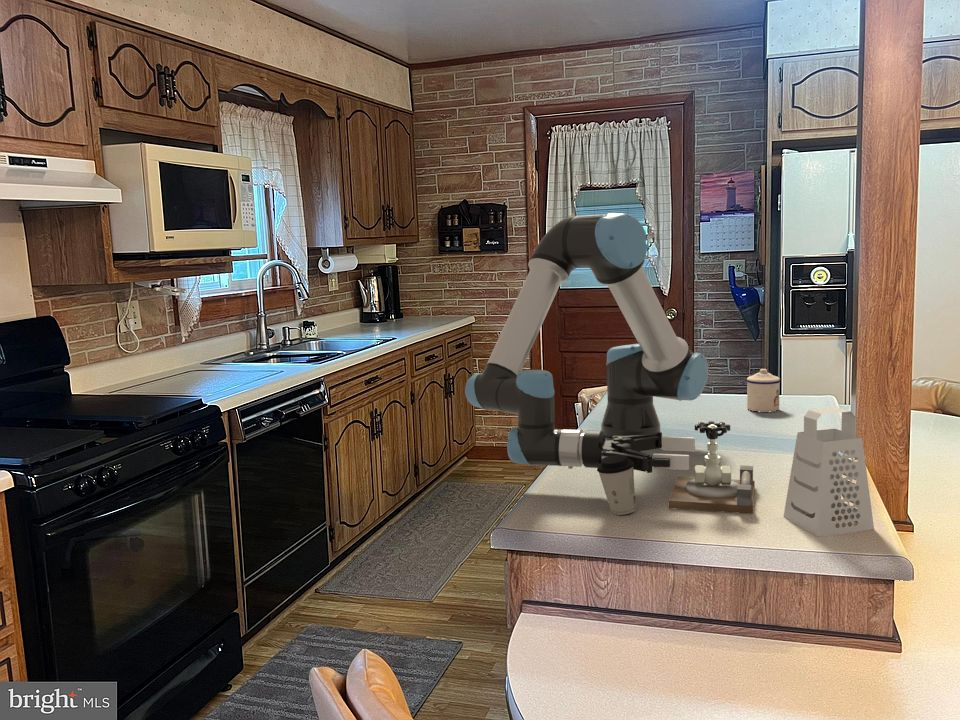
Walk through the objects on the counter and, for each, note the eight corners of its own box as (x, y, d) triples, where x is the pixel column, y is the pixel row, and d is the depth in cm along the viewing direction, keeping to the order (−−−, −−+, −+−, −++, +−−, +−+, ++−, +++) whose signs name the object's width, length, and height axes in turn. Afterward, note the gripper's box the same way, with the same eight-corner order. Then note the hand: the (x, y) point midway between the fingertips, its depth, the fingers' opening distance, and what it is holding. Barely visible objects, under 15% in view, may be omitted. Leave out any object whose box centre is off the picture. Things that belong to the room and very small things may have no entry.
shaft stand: (677, 483, 170) (677, 462, 170) (754, 487, 165) (754, 466, 164) (668, 508, 155) (668, 485, 155) (752, 513, 150) (752, 489, 150)
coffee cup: (650, 506, 153) (640, 455, 152) (622, 520, 150) (612, 467, 148) (624, 500, 159) (615, 451, 157) (597, 513, 156) (587, 462, 154)
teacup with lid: (781, 413, 230) (782, 371, 228) (747, 412, 232) (747, 372, 230) (777, 404, 241) (777, 365, 240) (744, 404, 244) (744, 365, 242)
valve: (732, 491, 156) (732, 429, 154) (695, 490, 157) (695, 428, 155) (728, 480, 162) (728, 421, 160) (694, 480, 164) (693, 421, 162)
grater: (874, 529, 140) (877, 414, 137) (818, 536, 138) (820, 419, 135) (835, 510, 150) (837, 402, 147) (783, 516, 148) (784, 407, 145)
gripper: (596, 450, 179) (697, 455, 172) (570, 484, 156) (686, 491, 149) (595, 417, 178) (696, 420, 171) (569, 445, 155) (686, 450, 148)
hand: (692, 453), depth 160 cm, fingers open, 13 cm apart
